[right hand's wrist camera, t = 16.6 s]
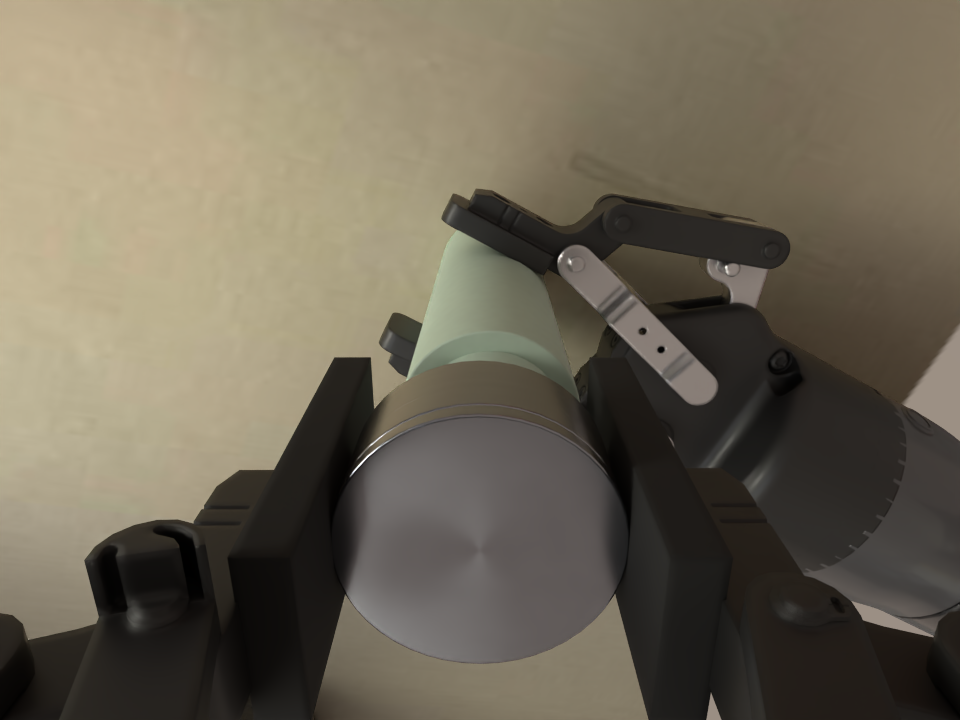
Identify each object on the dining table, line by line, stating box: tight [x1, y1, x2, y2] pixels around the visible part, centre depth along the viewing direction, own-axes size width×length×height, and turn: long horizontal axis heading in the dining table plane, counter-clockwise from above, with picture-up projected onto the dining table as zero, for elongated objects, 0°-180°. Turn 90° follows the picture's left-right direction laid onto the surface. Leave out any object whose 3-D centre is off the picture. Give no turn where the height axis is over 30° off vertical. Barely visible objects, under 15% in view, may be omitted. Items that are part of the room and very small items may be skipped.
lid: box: [330, 360, 630, 664], centre depth 11 cm, size 5×5×2 cm
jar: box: [406, 230, 580, 402], centre depth 21 cm, size 4×4×17 cm
